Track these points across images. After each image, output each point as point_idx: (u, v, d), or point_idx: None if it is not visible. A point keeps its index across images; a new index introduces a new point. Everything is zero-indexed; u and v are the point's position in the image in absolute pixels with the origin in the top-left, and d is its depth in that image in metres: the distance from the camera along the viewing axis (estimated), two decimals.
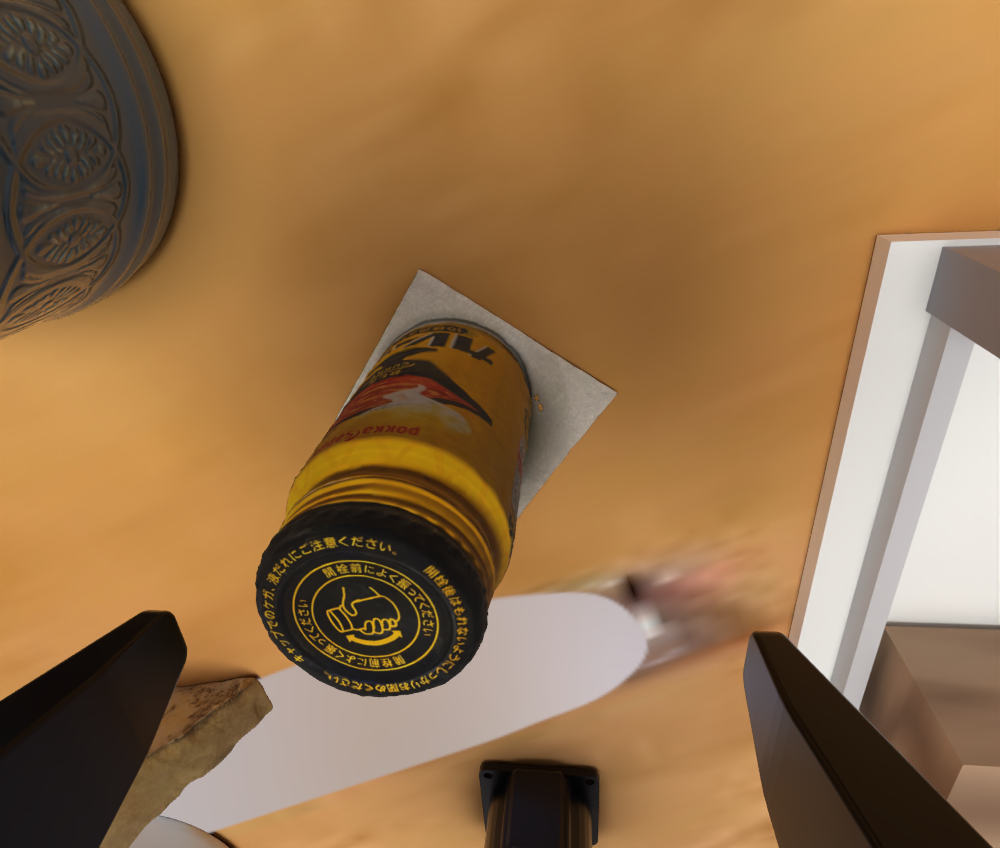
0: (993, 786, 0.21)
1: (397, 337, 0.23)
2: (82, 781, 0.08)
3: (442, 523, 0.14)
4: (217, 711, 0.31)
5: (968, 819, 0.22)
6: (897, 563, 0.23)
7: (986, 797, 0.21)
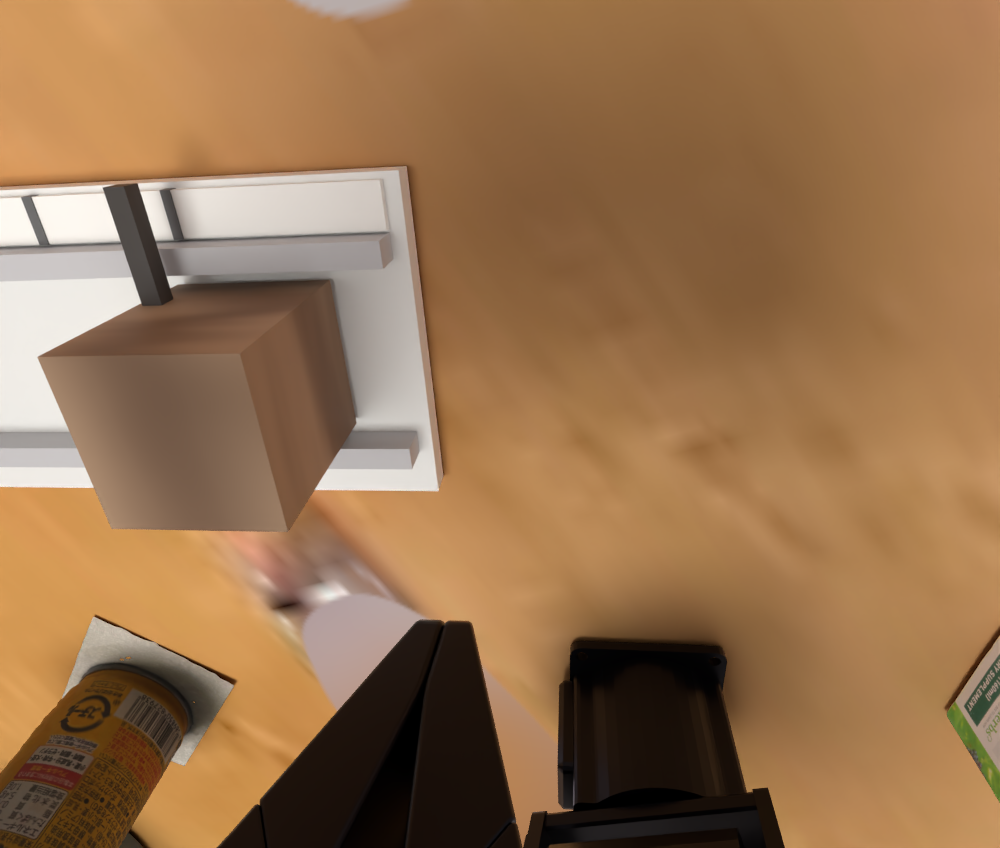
0: (131, 492, 0.16)
1: None
2: (408, 803, 0.08)
3: None
4: None
5: (203, 500, 0.16)
6: None
7: (153, 493, 0.16)
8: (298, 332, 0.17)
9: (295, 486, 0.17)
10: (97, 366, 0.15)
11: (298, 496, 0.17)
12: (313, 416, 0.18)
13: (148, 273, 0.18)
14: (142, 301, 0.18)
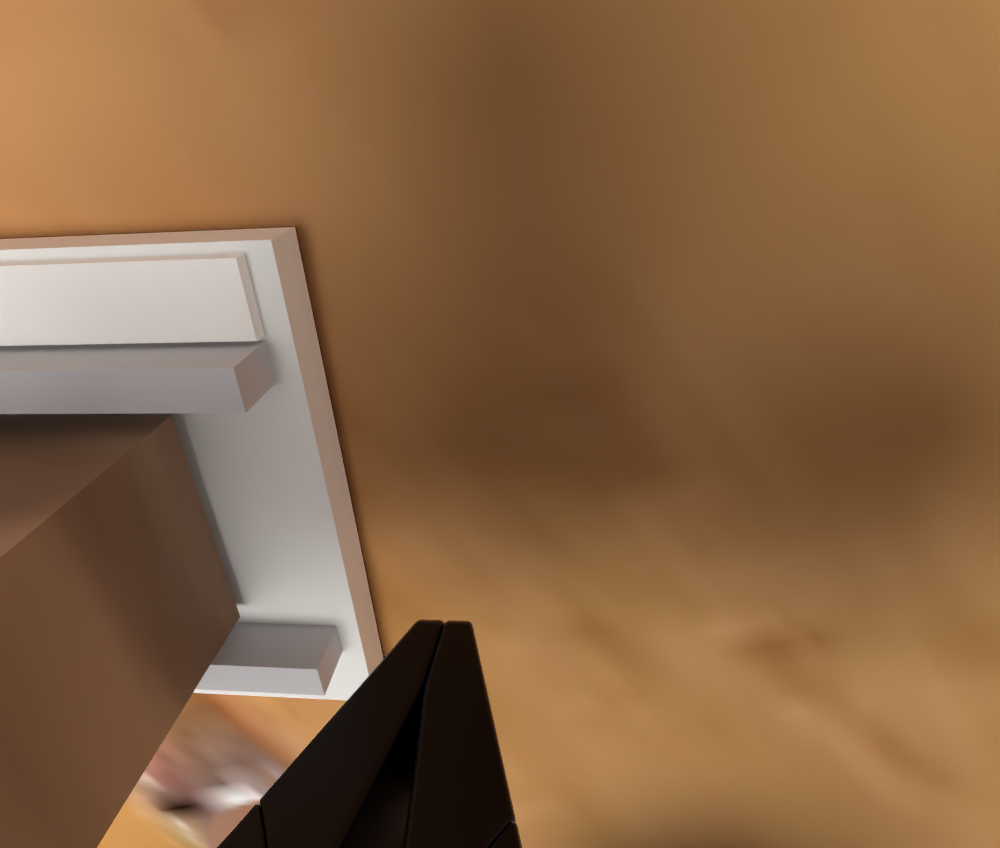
0: None
1: None
2: (408, 803, 0.08)
3: None
4: None
5: None
6: None
7: None
8: (74, 544, 0.09)
9: (66, 836, 0.09)
10: None
11: None
12: (124, 670, 0.10)
13: None
14: None
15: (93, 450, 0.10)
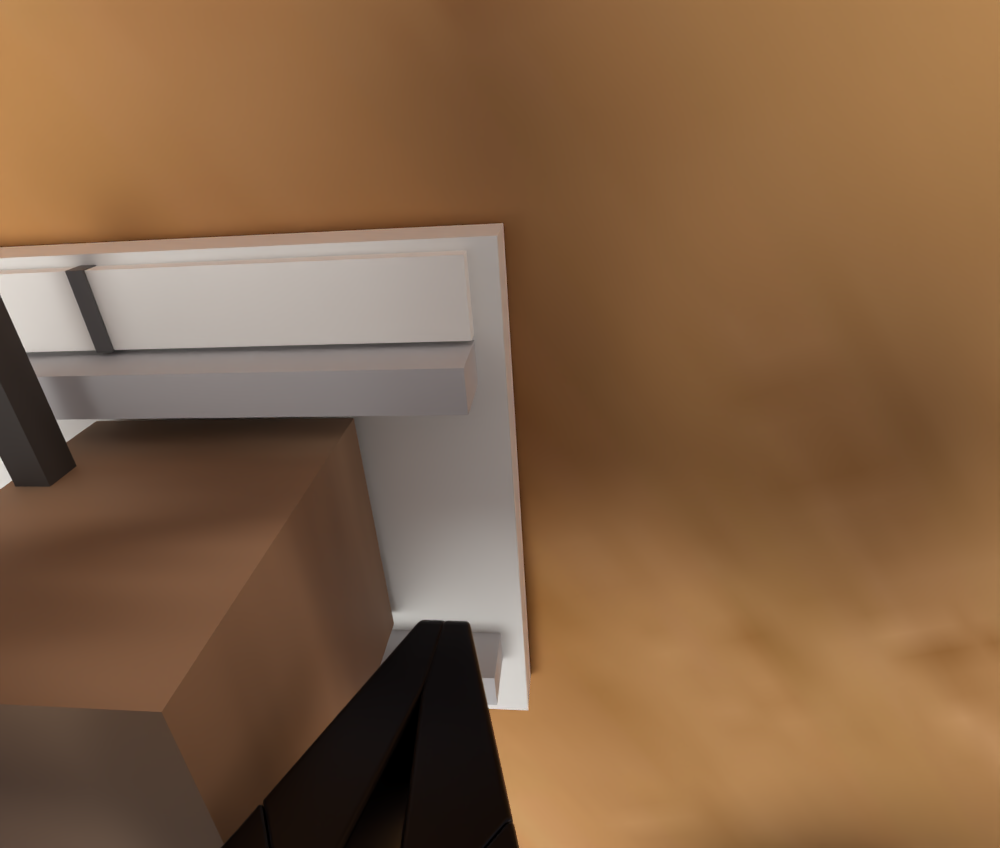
0: None
1: None
2: None
3: None
4: None
5: None
6: None
7: None
8: (299, 551, 0.09)
9: None
10: None
11: None
12: (329, 680, 0.10)
13: (18, 435, 0.09)
14: (14, 479, 0.10)
15: (292, 454, 0.10)
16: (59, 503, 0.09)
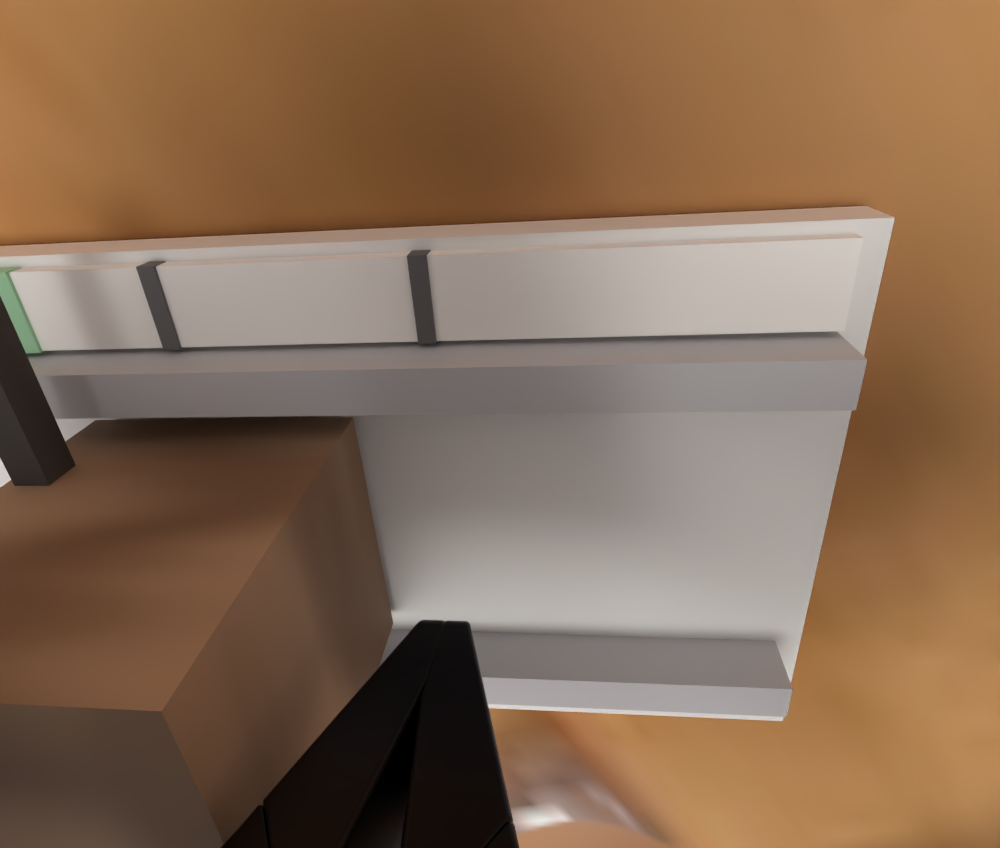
0: None
1: None
2: None
3: None
4: None
5: None
6: None
7: None
8: (299, 551, 0.09)
9: None
10: None
11: None
12: (328, 680, 0.10)
13: (18, 434, 0.09)
14: (14, 478, 0.10)
15: (291, 454, 0.10)
16: (58, 502, 0.09)
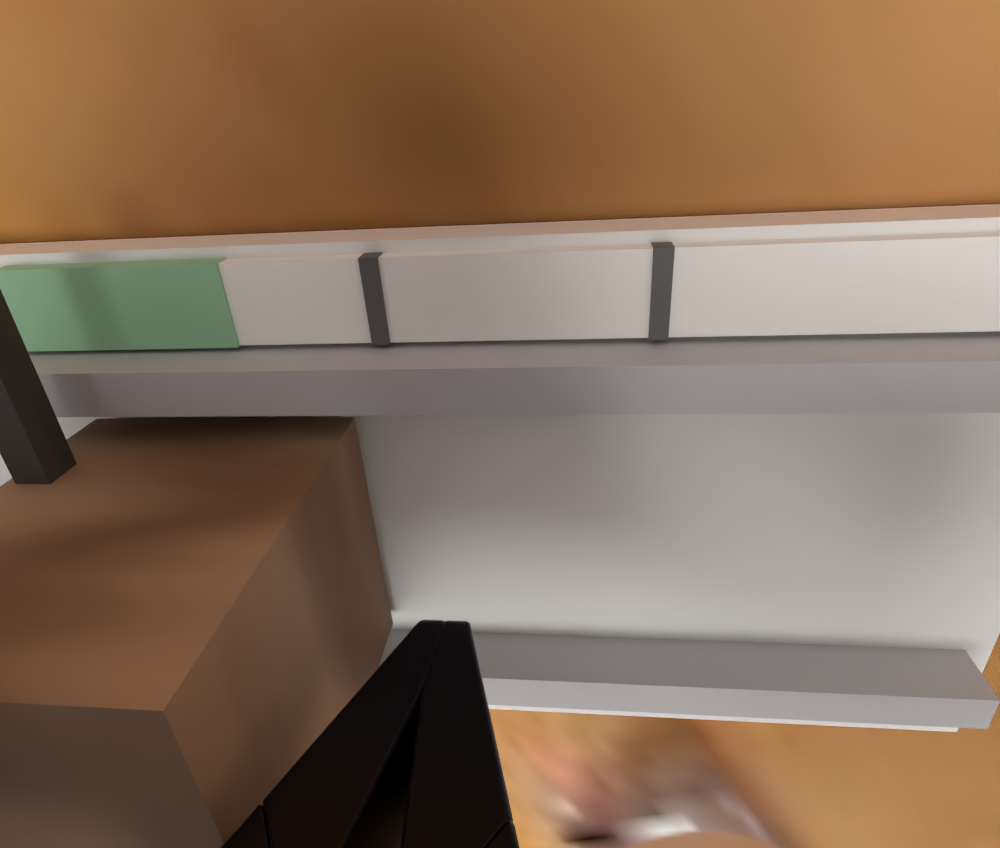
0: None
1: None
2: None
3: None
4: None
5: None
6: None
7: None
8: (300, 551, 0.09)
9: None
10: None
11: None
12: (329, 681, 0.10)
13: (19, 432, 0.09)
14: (14, 476, 0.10)
15: (293, 454, 0.10)
16: (59, 501, 0.09)
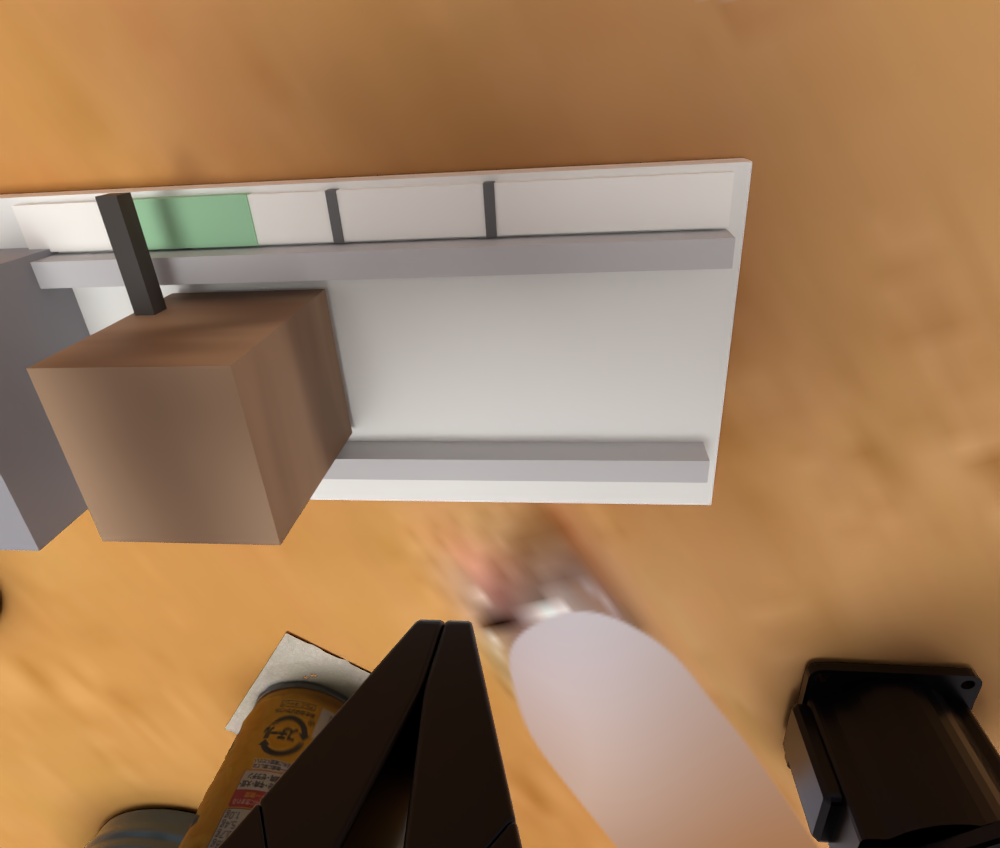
0: (121, 504, 0.16)
1: None
2: (408, 803, 0.08)
3: None
4: None
5: (194, 513, 0.16)
6: (367, 465, 0.21)
7: (144, 506, 0.16)
8: (291, 342, 0.17)
9: (288, 499, 0.17)
10: (87, 378, 0.14)
11: (291, 508, 0.17)
12: (308, 426, 0.18)
13: (140, 282, 0.17)
14: (135, 310, 0.18)
15: (288, 302, 0.18)
16: (162, 319, 0.17)
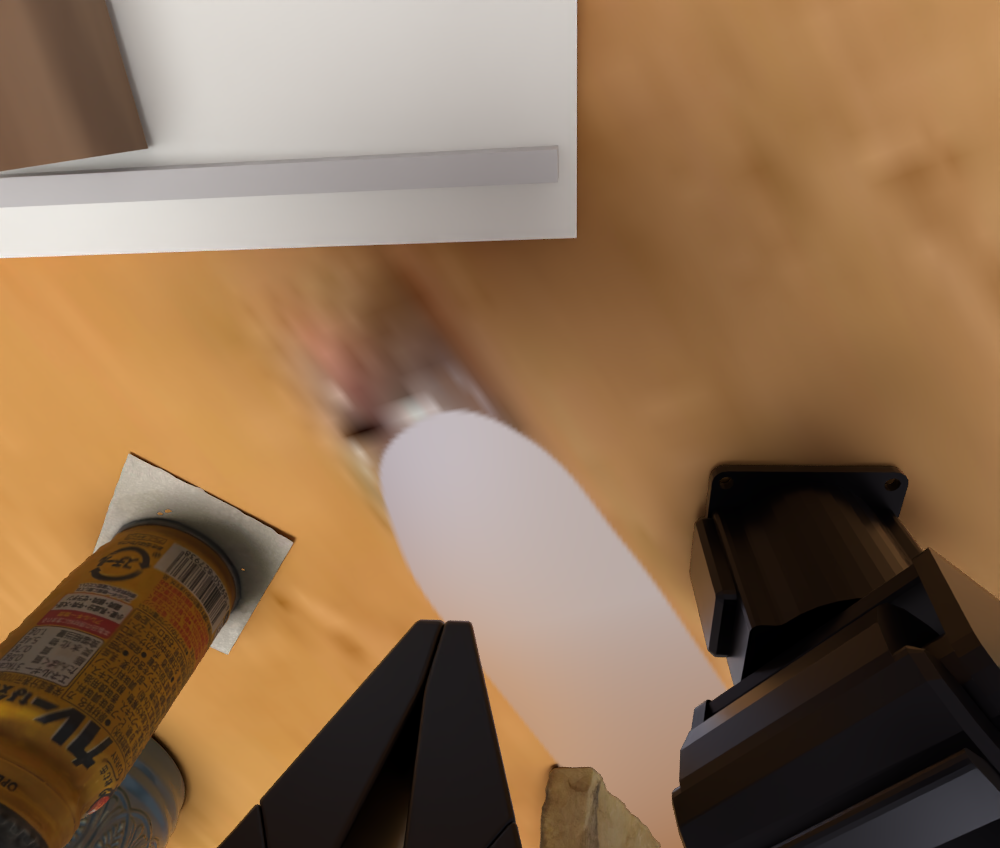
0: None
1: None
2: (408, 803, 0.08)
3: None
4: (543, 825, 0.30)
5: None
6: (160, 179, 0.18)
7: None
8: None
9: None
10: None
11: (2, 146, 0.13)
12: (43, 72, 0.15)
13: None
14: None
15: None
16: None
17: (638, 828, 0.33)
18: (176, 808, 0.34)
